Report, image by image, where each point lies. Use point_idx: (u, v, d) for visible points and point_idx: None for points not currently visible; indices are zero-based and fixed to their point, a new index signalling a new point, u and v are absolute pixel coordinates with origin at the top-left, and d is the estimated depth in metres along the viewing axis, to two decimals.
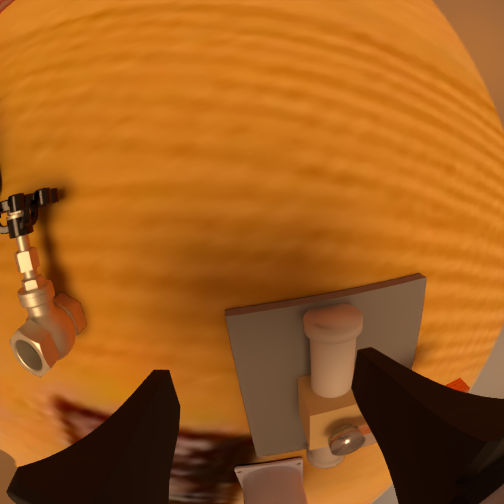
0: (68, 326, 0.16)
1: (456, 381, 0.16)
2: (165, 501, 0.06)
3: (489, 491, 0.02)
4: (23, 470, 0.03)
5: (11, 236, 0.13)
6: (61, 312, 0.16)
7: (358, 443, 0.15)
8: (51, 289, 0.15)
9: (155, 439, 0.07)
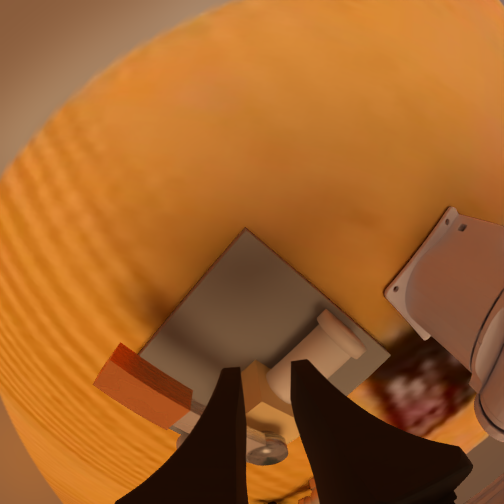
0: (314, 495, 0.24)
1: None
2: None
3: None
4: None
5: None
6: None
7: (259, 452, 0.14)
8: (300, 503, 0.24)
9: (241, 439, 0.07)
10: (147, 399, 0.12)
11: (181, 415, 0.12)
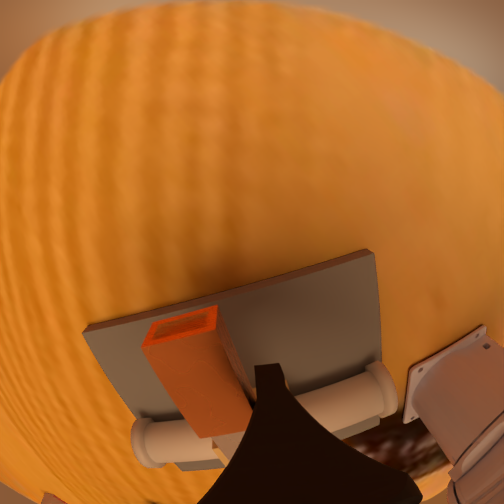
0: None
1: None
2: None
3: None
4: None
5: None
6: None
7: None
8: None
9: None
10: (218, 399, 0.08)
11: (242, 429, 0.09)
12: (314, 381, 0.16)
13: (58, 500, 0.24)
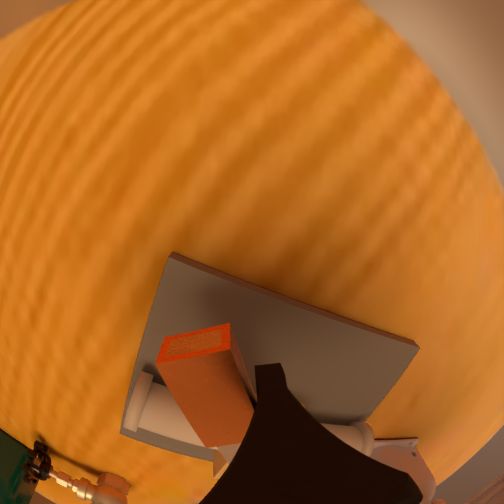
0: (106, 492, 0.17)
1: None
2: None
3: None
4: None
5: None
6: (98, 487, 0.17)
7: None
8: (82, 482, 0.17)
9: None
10: (227, 412, 0.08)
11: None
12: (317, 415, 0.17)
13: None
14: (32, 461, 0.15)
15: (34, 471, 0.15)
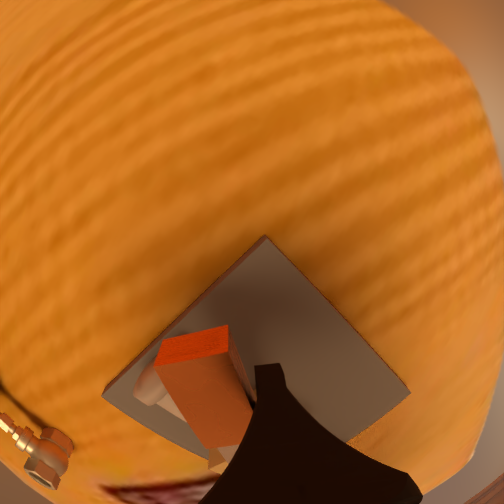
0: (50, 450, 0.15)
1: None
2: None
3: None
4: None
5: None
6: (43, 443, 0.15)
7: None
8: (26, 432, 0.15)
9: None
10: (226, 414, 0.08)
11: None
12: None
13: None
14: None
15: None
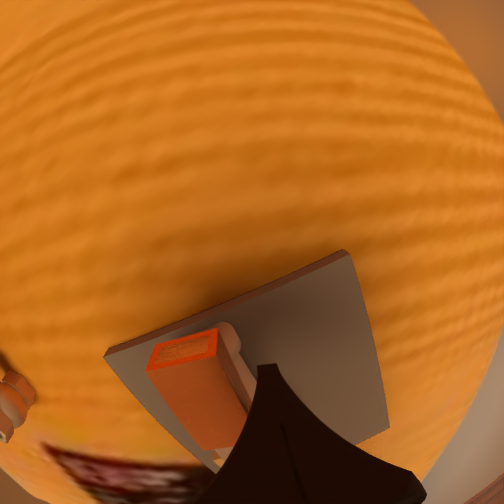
0: (12, 398, 0.13)
1: None
2: None
3: None
4: None
5: None
6: (5, 388, 0.14)
7: None
8: None
9: None
10: (220, 416, 0.08)
11: None
12: None
13: None
14: None
15: None
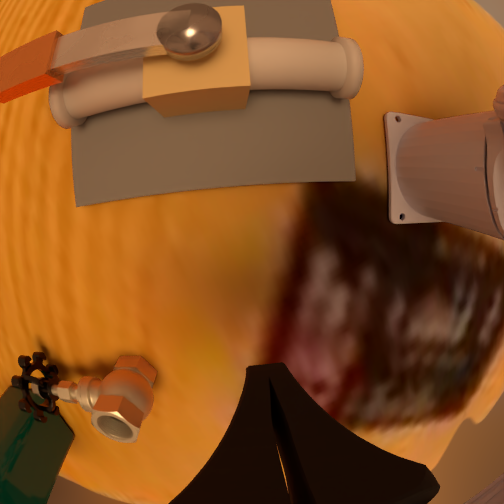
0: (111, 375, 0.16)
1: (8, 100, 0.08)
2: None
3: None
4: None
5: (49, 398, 0.16)
6: None
7: (169, 25, 0.08)
8: (85, 378, 0.17)
9: None
10: (22, 57, 0.07)
11: (51, 42, 0.07)
12: None
13: None
14: (27, 373, 0.15)
15: (42, 404, 0.16)
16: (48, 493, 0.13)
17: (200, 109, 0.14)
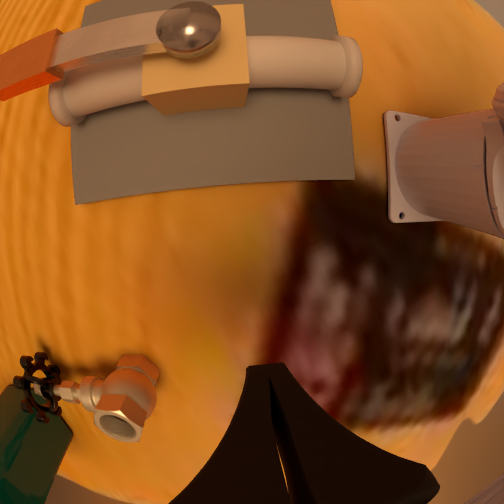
0: (113, 374, 0.16)
1: (7, 97, 0.08)
2: None
3: None
4: None
5: (52, 398, 0.16)
6: None
7: (168, 23, 0.08)
8: (87, 377, 0.17)
9: None
10: (22, 55, 0.07)
11: (51, 40, 0.07)
12: None
13: None
14: (29, 373, 0.15)
15: (44, 404, 0.16)
16: (46, 492, 0.12)
17: (199, 107, 0.14)
